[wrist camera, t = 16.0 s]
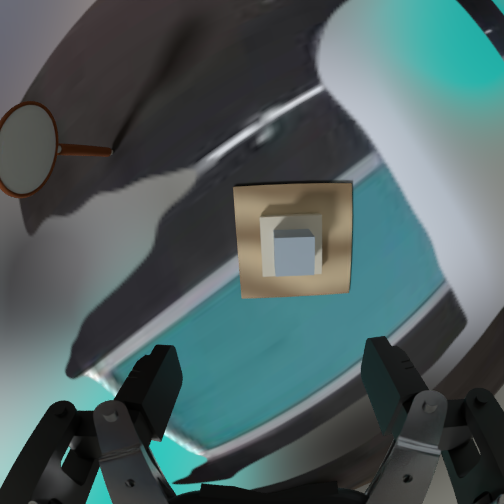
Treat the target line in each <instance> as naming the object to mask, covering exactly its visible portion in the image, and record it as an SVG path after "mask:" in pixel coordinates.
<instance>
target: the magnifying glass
mask: <svg viewBox="0 0 504 504" xmlns="http://www.w3.org/2000/svg"><path fill="white" fill-rule="evenodd" d="M112 154H113V150H111V149H110V148H107V147H97V146H87V145H74V144H58V131H57V126H56V122H55V120H54V117H53V116H52V114H51V112H50V111H49V110H48V109H47V108H46V107H45V106H44V105H42V104H41V103H38V102H35V101H27V102H22V103H20V104H18V105H16V106H14V107H13V108H11V109H10V110H9V111H8V112H7V113H6V114H5V115H4V116H3V117H2V119H1V120H0V189H1V190H2V191H3V192H4V193H6V194H7V195H9V196H11V197H14V198H26V197H29V196H31V195H33V194H35V193H36V192H38V191H39V190H40V189H41V188H42V187H43V186H44V185H45V183H46V182H47V180H48V179H49V177H50V175H51V173H52V171H53V168H54V166H55V162H56V158H57V155H80V156H105V157H108V156H110V155H112Z"/></svg>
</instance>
